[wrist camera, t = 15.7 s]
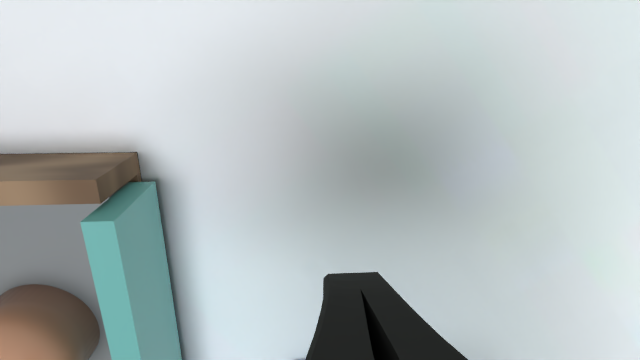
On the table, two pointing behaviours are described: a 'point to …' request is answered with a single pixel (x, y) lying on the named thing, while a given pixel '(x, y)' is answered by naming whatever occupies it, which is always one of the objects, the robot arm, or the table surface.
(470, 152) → the table surface
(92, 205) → the tray
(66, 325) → the tan short cylinder
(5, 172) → the housing
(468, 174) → the table surface
